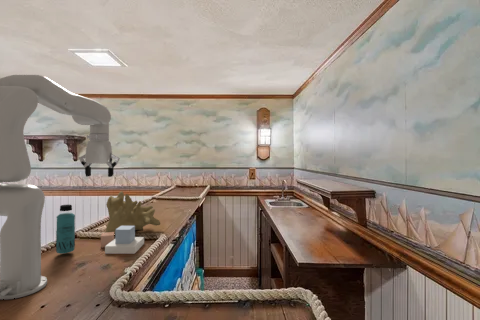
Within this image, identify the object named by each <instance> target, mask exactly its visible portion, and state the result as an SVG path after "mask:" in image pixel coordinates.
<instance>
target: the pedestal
mask: <svg viewBox="0 0 480 320" xmlns="http://www.w3.org/2000/svg"><path fill="white" fill-rule="evenodd" d="M143 245H145V236H135V239H134V240H133V241H132V242H131V243H130V244H115V238H114V240H113V241H111V242H110V243H109V244H107V245H106V246H105V247H104V254H113V255H114V254H116V255H117V254H122V255H123V254H124V255H125V254H128V255H129V254H131V255H132V254H136V253H137V252H138V251H139V250H140V248H141V247H143Z"/></svg>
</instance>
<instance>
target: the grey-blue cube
mask: <svg viewBox="0 0 480 320" xmlns="http://www.w3.org/2000/svg"><path fill="white" fill-rule="evenodd" d="M135 237H136V230H135V226H120V227H118V228H117V229H116V230H115V236H114V239H115V244H130V243H131V242H132V241H133V240H134V239H135Z"/></svg>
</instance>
